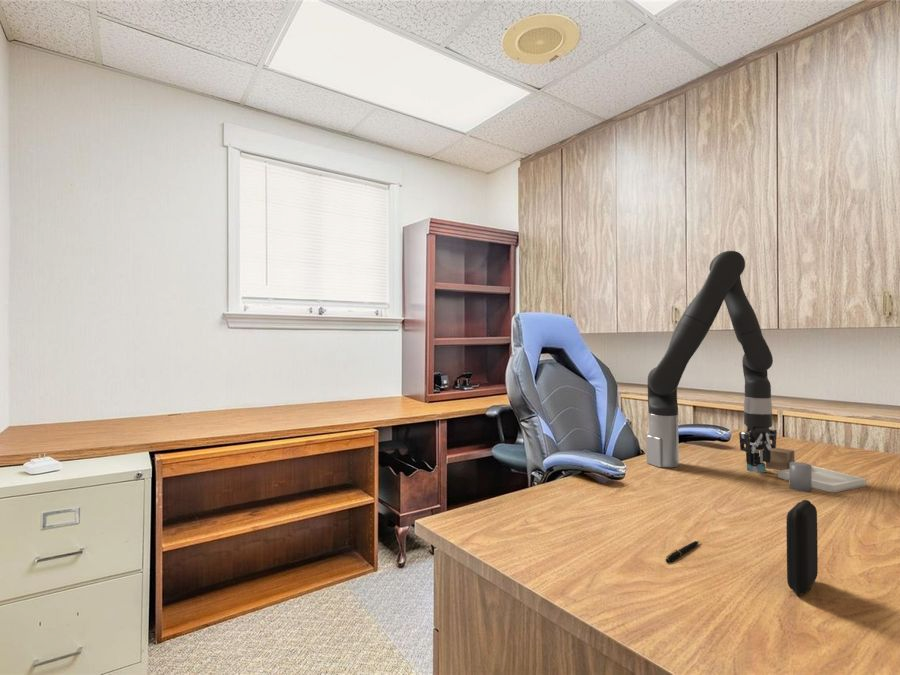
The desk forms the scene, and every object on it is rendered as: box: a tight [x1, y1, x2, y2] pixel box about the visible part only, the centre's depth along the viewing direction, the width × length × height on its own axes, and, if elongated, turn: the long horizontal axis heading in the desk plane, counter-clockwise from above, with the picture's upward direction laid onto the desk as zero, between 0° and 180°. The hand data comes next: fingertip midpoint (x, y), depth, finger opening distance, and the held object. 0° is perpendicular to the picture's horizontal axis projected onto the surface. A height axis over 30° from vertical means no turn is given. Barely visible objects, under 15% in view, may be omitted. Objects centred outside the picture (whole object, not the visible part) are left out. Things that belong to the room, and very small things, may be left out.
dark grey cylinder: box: [789, 461, 813, 493], centre depth 131 cm, size 5×5×7 cm
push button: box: [746, 441, 772, 474], centre depth 148 cm, size 7×5×10 cm
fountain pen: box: [665, 540, 700, 563], centre depth 95 cm, size 14×1×2 cm, turn 127°
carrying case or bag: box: [786, 499, 819, 596], centre depth 82 cm, size 11×3×15 cm, turn 131°
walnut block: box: [765, 446, 796, 471], centre depth 152 cm, size 6×6×6 cm
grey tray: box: [777, 465, 868, 494], centre depth 137 cm, size 15×15×2 cm
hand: (758, 463), depth 148 cm, fingers open, 6 cm apart
